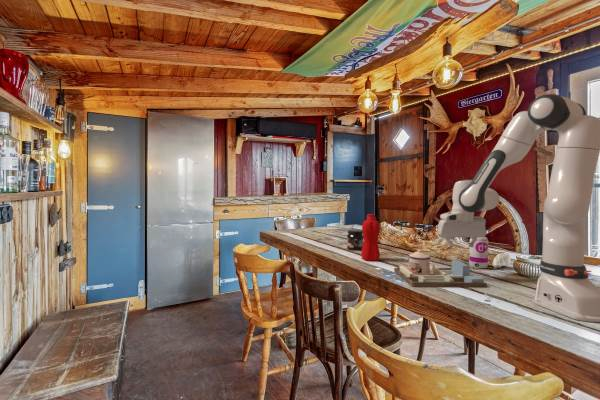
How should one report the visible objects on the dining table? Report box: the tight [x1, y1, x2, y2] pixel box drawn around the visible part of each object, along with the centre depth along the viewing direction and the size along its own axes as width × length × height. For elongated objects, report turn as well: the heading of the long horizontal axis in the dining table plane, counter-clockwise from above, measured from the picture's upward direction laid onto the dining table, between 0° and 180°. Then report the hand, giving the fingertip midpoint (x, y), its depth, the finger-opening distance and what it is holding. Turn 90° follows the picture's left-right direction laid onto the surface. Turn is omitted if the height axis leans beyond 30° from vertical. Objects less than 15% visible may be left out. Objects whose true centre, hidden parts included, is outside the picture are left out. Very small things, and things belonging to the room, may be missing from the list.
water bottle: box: [360, 213, 383, 262], centre depth 173 cm, size 9×11×25 cm
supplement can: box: [468, 236, 490, 269], centre depth 159 cm, size 8×8×15 cm
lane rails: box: [393, 267, 488, 288], centre depth 139 cm, size 24×30×2 cm
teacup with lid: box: [408, 249, 436, 275], centre depth 142 cm, size 12×9×12 cm
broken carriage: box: [418, 274, 485, 282], centre depth 131 cm, size 6×25×3 cm, turn 90°
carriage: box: [399, 260, 471, 277], centre depth 142 cm, size 14×27×6 cm, turn 90°
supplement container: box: [346, 229, 364, 252], centre depth 203 cm, size 10×10×12 cm
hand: (460, 246), depth 142 cm, fingers open, 8 cm apart
